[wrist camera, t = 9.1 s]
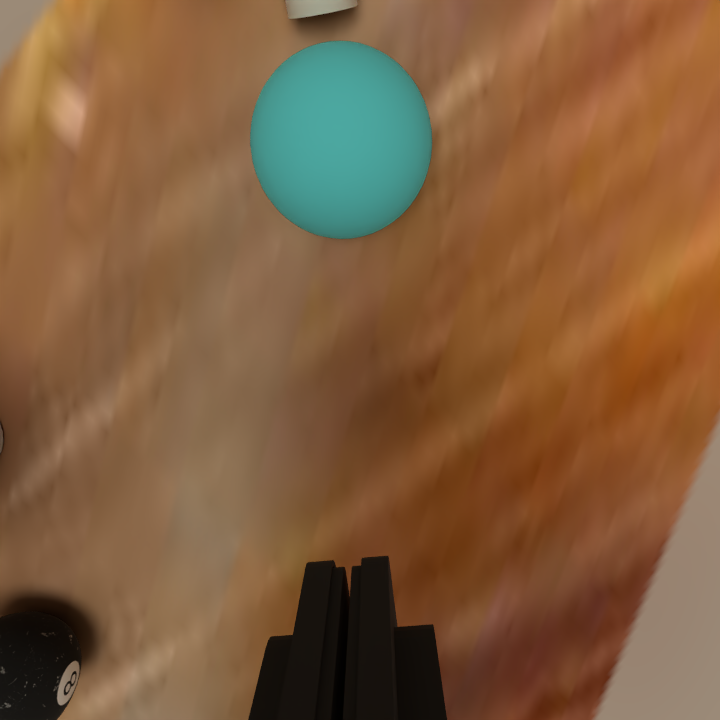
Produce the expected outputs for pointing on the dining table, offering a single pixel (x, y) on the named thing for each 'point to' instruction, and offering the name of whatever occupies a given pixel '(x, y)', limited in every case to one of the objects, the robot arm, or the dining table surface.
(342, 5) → the cream pin
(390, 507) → the dining table surface
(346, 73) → the ball
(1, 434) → the coffee cup
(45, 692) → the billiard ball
